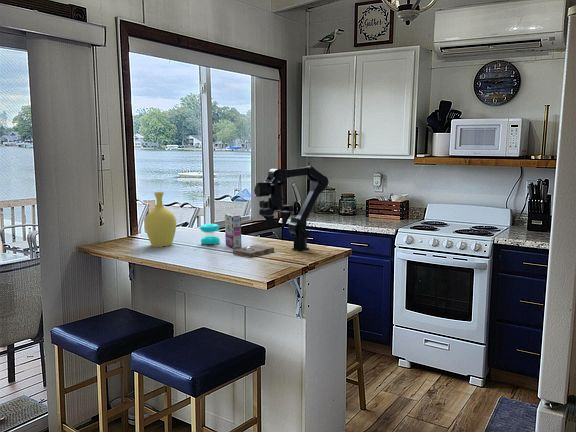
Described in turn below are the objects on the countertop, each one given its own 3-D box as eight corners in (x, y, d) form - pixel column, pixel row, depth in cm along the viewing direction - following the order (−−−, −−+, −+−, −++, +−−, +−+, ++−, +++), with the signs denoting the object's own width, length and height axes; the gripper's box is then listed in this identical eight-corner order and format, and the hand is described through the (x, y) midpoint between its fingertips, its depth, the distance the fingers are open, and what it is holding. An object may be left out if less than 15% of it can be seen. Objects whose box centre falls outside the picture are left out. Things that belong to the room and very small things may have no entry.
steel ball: (243, 254, 237) (248, 253, 240) (249, 254, 235) (254, 254, 238) (244, 246, 237) (248, 246, 240) (250, 247, 235) (254, 246, 238)
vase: (139, 247, 259) (136, 193, 255) (157, 241, 274) (154, 190, 270) (166, 248, 254) (163, 194, 250) (183, 242, 269) (180, 190, 265)
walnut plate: (256, 248, 250) (256, 244, 250) (274, 251, 242) (274, 247, 242) (232, 254, 238) (232, 250, 238) (250, 257, 230) (250, 253, 230)
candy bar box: (242, 247, 253) (241, 215, 250) (233, 248, 250) (231, 216, 248) (234, 243, 263) (233, 213, 260) (225, 245, 260) (224, 213, 258)
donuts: (221, 223, 268) (215, 226, 258) (222, 241, 269) (216, 245, 260) (203, 223, 270) (197, 226, 260) (204, 241, 271) (198, 245, 261)
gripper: (277, 192, 247) (278, 223, 249) (250, 196, 233) (251, 229, 236) (294, 193, 240) (295, 225, 242) (267, 197, 226) (268, 231, 228)
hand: (277, 228), depth 237 cm, fingers open, 9 cm apart
